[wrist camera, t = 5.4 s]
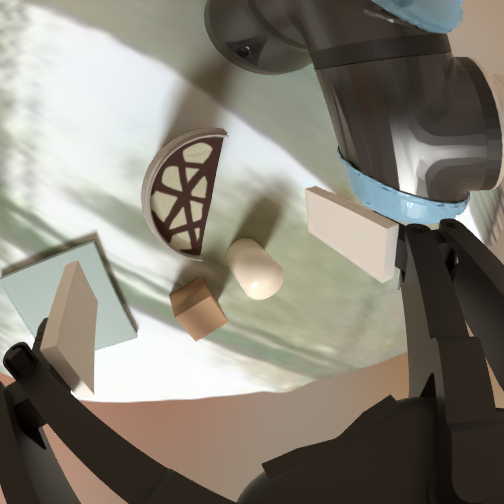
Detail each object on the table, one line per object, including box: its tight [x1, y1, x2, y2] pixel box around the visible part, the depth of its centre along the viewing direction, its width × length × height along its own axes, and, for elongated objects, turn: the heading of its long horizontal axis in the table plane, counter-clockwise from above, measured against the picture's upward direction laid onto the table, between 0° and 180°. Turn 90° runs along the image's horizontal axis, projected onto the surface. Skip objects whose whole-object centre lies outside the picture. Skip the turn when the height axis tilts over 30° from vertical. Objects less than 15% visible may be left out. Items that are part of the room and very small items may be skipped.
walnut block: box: [169, 276, 228, 341], centre depth 38 cm, size 5×5×5 cm
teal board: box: [0, 240, 137, 350], centre depth 33 cm, size 15×15×1 cm
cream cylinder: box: [225, 238, 284, 300], centre depth 37 cm, size 5×5×7 cm
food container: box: [141, 128, 229, 261], centre depth 28 cm, size 12×6×10 cm, turn 166°
